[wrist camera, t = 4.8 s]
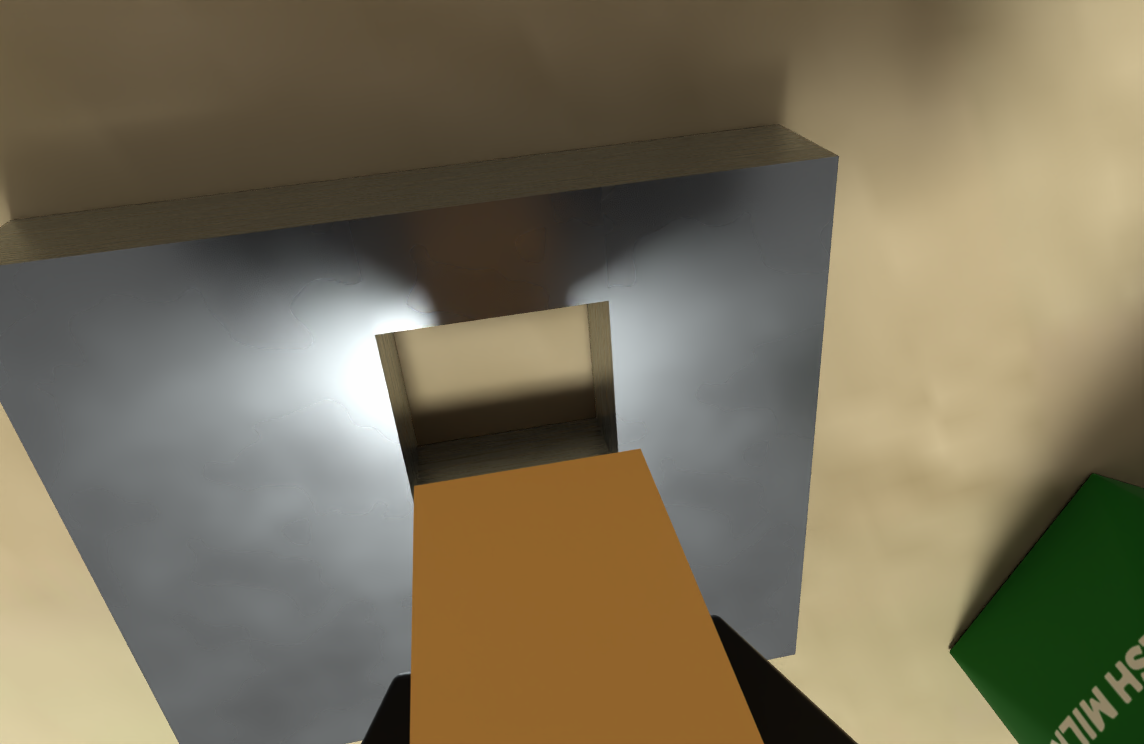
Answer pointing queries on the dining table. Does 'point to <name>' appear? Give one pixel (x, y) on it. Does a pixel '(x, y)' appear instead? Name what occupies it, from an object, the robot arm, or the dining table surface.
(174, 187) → the dining table surface
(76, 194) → the dining table surface
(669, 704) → the tan rectangular box
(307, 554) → the gray slab with hole
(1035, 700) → the milk carton
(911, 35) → the dining table surface
